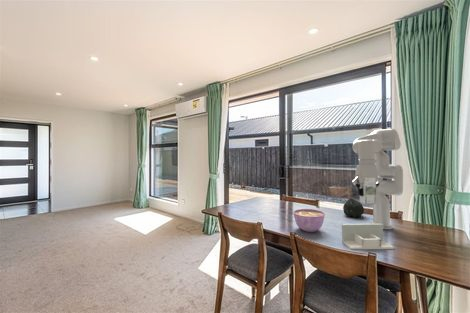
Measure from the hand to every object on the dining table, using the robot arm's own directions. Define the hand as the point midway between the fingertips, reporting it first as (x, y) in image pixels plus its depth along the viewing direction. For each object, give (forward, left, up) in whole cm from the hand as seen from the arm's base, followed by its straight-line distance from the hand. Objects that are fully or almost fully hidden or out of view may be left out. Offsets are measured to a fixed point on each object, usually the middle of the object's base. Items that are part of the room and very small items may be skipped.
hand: (367, 195), depth 121 cm
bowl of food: (-25, -24, -28) cm, 45 cm away
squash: (-56, +20, -28) cm, 66 cm away
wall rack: (0, 0, -27) cm, 27 cm away
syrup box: (0, 0, -5) cm, 5 cm away
